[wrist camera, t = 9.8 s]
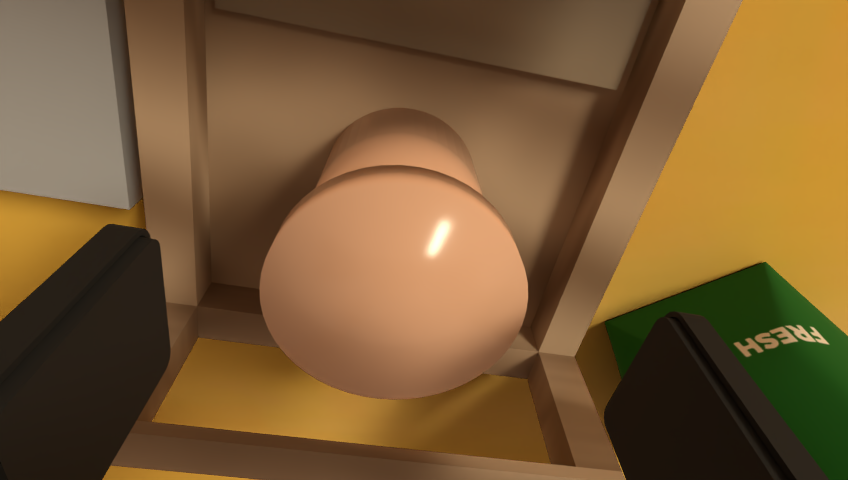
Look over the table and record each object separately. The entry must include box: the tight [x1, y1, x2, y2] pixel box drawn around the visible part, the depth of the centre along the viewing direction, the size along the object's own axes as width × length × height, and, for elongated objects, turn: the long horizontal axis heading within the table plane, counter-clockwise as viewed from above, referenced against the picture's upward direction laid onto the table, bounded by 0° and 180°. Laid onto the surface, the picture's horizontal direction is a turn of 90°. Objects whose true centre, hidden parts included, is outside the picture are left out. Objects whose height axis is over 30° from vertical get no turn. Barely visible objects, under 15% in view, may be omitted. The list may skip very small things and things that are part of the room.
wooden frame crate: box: [111, 0, 742, 480], centre depth 13 cm, size 22×16×8 cm
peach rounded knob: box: [259, 108, 528, 399], centre depth 14 cm, size 6×6×7 cm
